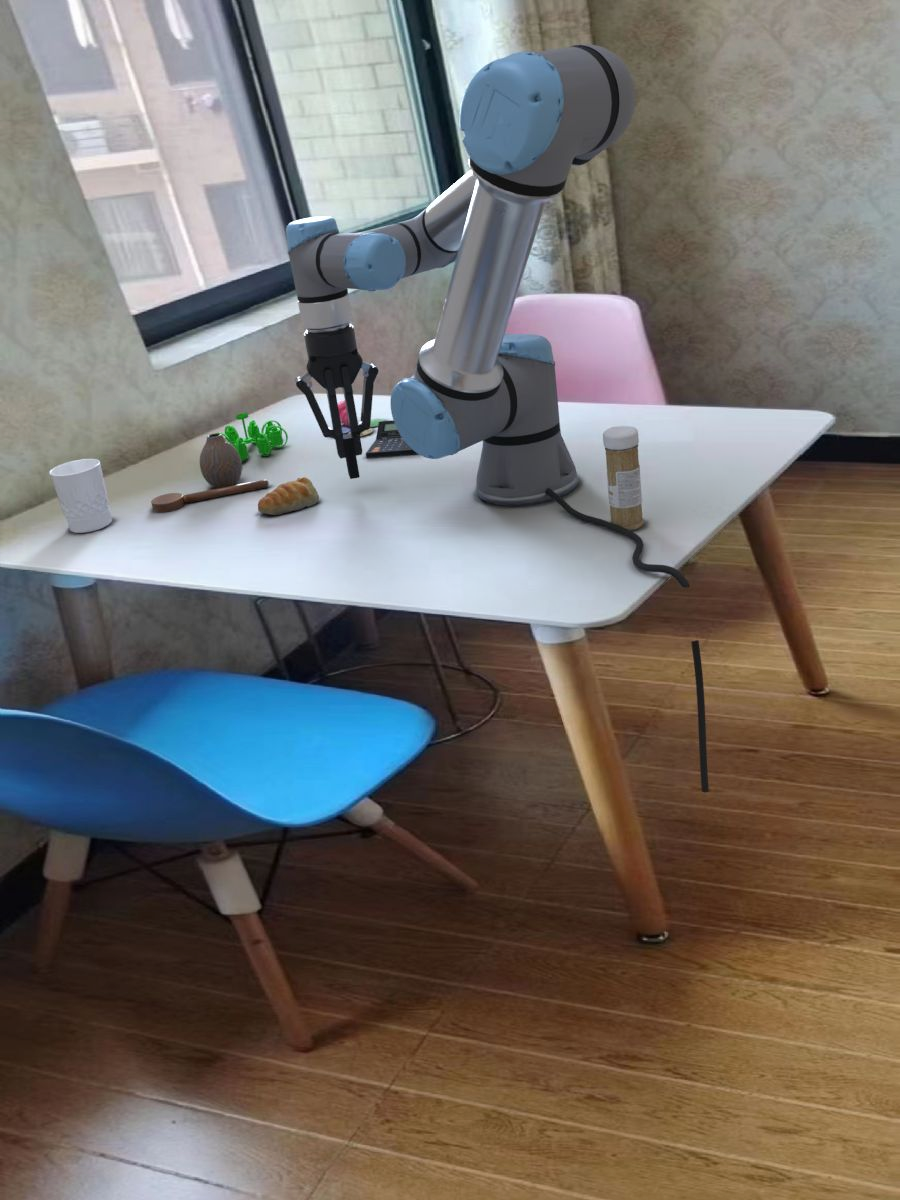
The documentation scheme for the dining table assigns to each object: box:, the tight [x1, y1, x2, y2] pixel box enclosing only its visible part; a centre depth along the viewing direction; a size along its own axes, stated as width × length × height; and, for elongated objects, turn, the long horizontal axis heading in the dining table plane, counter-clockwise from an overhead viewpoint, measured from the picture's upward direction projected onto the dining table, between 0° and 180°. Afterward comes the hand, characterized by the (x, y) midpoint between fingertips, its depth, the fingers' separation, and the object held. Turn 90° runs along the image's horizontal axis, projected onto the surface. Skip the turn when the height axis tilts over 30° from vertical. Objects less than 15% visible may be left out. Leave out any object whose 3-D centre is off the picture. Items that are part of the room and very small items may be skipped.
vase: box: [199, 432, 243, 489], centre depth 194 cm, size 7×7×9 cm
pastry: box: [257, 476, 320, 516], centre depth 180 cm, size 9×7×4 cm
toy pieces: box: [337, 399, 387, 438], centre depth 215 cm, size 12×11×4 cm
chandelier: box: [215, 412, 289, 463], centre depth 210 cm, size 15×15×7 cm
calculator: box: [365, 419, 419, 459], centre depth 202 cm, size 9×12×3 cm
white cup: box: [48, 458, 113, 534], centre depth 184 cm, size 8×8×10 cm
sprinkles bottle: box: [602, 425, 645, 531], centre depth 152 cm, size 5×5×14 cm
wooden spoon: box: [150, 479, 270, 513], centre depth 190 cm, size 19×5×1 cm, turn 103°
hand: (354, 475), depth 181 cm, fingers closed
